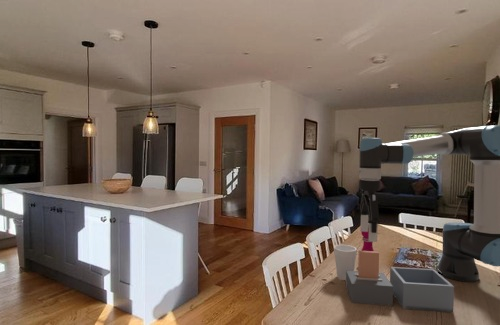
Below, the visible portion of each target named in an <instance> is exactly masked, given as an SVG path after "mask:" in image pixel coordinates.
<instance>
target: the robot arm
mask: <svg viewBox="0 0 500 325" xmlns="http://www.w3.org/2000/svg"><path fill="white" fill-rule="evenodd" d="M382 140H383V139H382V138H379V137H364V138H361V139H360V140H359V141H360V142H359V164H358V166H359V169H358V170H357V173H358V174H359V175H358V177H359V180H358V190H360V191H361V199H360V206H359V212H360V232H361V231H364V232H368V224H369V241H371V242H373V243H377V242H378V226H379V225H378V224H379V223H380V214H379V213H380V211H379V210H380V209H379V200H378V198H379V197H378V194H376V193H375V192H379V191H381V182H382V181H381V179H382V164H390V165H392V164H395V165H403V164H409V163H411V162H412V160H413V158H417V157H419V158H420V157H425V156H432V155H437V154H438V155H439V154H440V155H443V156H447V155H448V156H449V155H460V156H461V155H462V156H469V161H470V162H471V163H473V166H474V170H473V171H474V172H473V173H474V177H473V180H474V181H473V190H474V191H473V223H469V222H446V223H444V224H443V228H442V229H443V230H442V255H441V258H440V259H439V262H438V263H437V264H438V265H437V270H438V269H439V270H440V271H441V272H442V274H443V275H442V277H444V278H448V279H451V280H454V281H459V282H467V283H470V282H471V283H473V282H478V281H479V279H480V273H479V270H478V267H477V264H476V261H478V262H481V263H483V264H485V265H489V266H493V267H500V124H495V125H494V124H493V125H492V124H490V125H482V126H473V127H472V126H470V127H465V128H460V129H457V130H452V131H446V132H441V133H439V134H438V135H436V136H429V137H421V138H413V139H407V140H399V141H394V142H393V141H392V142H385V143H383V141H382Z"/></svg>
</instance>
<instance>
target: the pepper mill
mask: <svg viewBox="0 0 500 325" xmlns="http://www.w3.org/2000/svg"><path fill="white" fill-rule="evenodd" d="M360 233H361V235H362V241H363V246H362V248H361V250H360V251H375V250H374V248H373V243H374V242H371V241H369V223H368V232H364V231H361V230H360Z"/></svg>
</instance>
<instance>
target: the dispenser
mask: <svg viewBox="0 0 500 325" xmlns="http://www.w3.org/2000/svg"><path fill="white" fill-rule="evenodd" d="M345 282H346V283H345V288H346V291H347V294H348V297H349V300H350V302H351V303H352V304H363V305H365V304H366V305H377V306H378V305H379V306H393V305H394V304H393V303H394V302H393V301H394V300H393V297H394V294H393V286H392V284H391V283H390V279H389V278H388V277H387V276H386V274H385V273H384V272H379V279H375V278H360V277H358V270H354V271H346V281H345Z"/></svg>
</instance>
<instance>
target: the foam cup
mask: <svg viewBox="0 0 500 325" xmlns="http://www.w3.org/2000/svg"><path fill="white" fill-rule="evenodd" d="M357 250H358V249H357V247H355V246H354V245H349V244H336V245H334V246H333V254H334V260H335V267H336V268H335V269H336V275H337V277H338V278H337V277H336V278H337V279H338V280H340V279H341V281H344V280H345V282H346V271H355V265H356V258H357V256H358V254H357V252H358V251H357Z"/></svg>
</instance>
